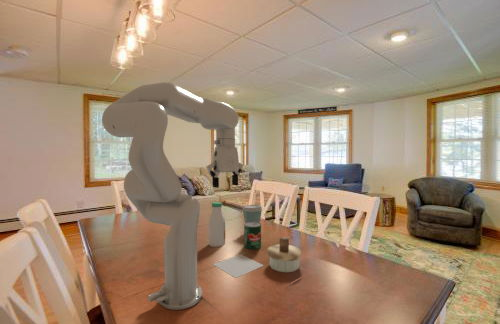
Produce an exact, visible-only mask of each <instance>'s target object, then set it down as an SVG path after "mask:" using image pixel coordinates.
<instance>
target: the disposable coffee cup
mask: <svg viewBox="0 0 500 324" xmlns="http://www.w3.org/2000/svg"><path fill="white" fill-rule="evenodd" d="M242 211H243V219H244V224H245V223H246V222H259V223H261V217H262V211H263V207H262V205H261V204H249V205H248V204H247V205H244V206H243V208H242Z"/></svg>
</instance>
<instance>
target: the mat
mask: <svg viewBox="0 0 500 324" xmlns="http://www.w3.org/2000/svg"><path fill="white" fill-rule="evenodd" d="M212 265H213V266H214V267H216V268H218V269H220V270H221V271H223V272H225V273H227V274H229V276H231V277H233V278H235V279H238V278H239V277H242V276H244V275H247V274H248V273H251V272H254V271H255V270H257V269H259V268H262V267H263V266H265V265H264V264H262V263H260V262H258V261H255V260H254V259H251V258H250V257H247V256H245V255H243V254H241V253H240V254H237V255H235V256H232V257H229V258H226V259H224V260H221V261H218V262H216V263H213V264H212Z"/></svg>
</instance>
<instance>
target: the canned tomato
mask: <svg viewBox="0 0 500 324" xmlns="http://www.w3.org/2000/svg"><path fill="white" fill-rule="evenodd" d="M243 239H244V240H243V247H244V248H245V249H246V250H251V251H254V250H258V249H261V248H262V223H261V222H260V223H259V222H246V223H245V222H244V228H243Z"/></svg>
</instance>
